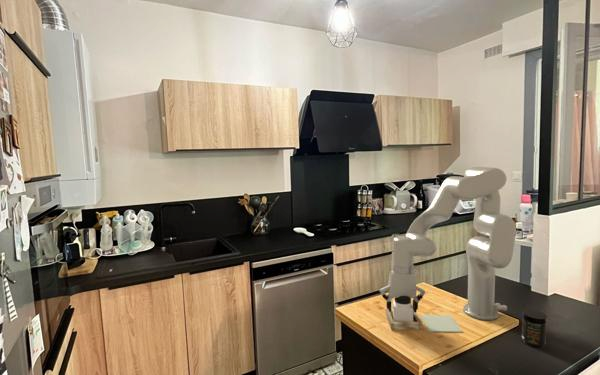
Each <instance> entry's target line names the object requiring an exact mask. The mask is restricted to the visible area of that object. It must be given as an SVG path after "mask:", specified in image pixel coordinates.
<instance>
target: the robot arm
mask: <svg viewBox="0 0 600 375" xmlns="http://www.w3.org/2000/svg"><path fill="white" fill-rule="evenodd" d="M506 183H507V175H506V173H505V172H504V171H503V169H501V168H497V167H485V166H473V167H469V168H467V169H466V170H465V172H464V174H463V176H456V175H455V176H454V175H453V176H449V177H446V178H445V179H444V180H443V182H442V183H441V184H440V187H439V189H438V191H437V192H436V194H435V196H434V198H433V199H432V202H431V203H430V205H428V206H429V207H428V208H427V209H426V210H424V211H423V212H422V213H421V214H420V215H418V216H417V217H416V218H415V219H414V220H413V222H412V223H411V224H410V226H409V228H408V230H407V231H406V234H405V236H403V235H398V236H395V237H394V238H393V239H392V269H391V270H390V271H389V276H388V285H386V286H384V287H382V288H379V293H380V295H381V296H382V298H383V299H384V300H385V301H386V309H388V310H389V312H391V309H392V300H393V298H394V299H395V298H398V297H399V296H409V297H410V298H411V299H412V307H413V310H414V312H415V313H416V314H417V311H418V310H419V303H420V301H421V300H422V299H423V297H424V295H425V294H426V290H425V289H423V288H421V287H419V286H417V282H416V275H415V272H414V270H417V269H418V268H417V265H414V262H413V261H414V260H413V259H414V257H420V258H428V257H431V256H434V254H435V253H436V251H437V245H436V243H435V242H434V240H432V238H429V237H427V236H426V234H427V232H428V230H430V229H431V228H432V227H433V226H434V225H437V224H439V223H442V222H446V221H448V220H450V218H451V217H452V215H453V213H454V211H455V210H456V208H457V206H458V205H459V202H460V201H461V200H462V201H473V200H475V206H474V215H473V216H474V217H473V230H475V231H476V232H477V233H479V234H482V235H485V236H487V237H490V238H487V237H484V236H474V237H473V236H472V237H471V238H469V239H468V240H467V243H466V245H465V252H466V259H467V264H468V265H467V266H468V268H467V269H468V270H467V303H466V304H465V305H463V307H462V308H463V309H462V310H463V313H465V314H466V315H468V316H469V317H471V318H474V319H478V320H480V321H481V320H482V321H483V320H484V321H494V320H497V319H498V318H499V311H507V310H508V306H507V305H505V304H501V303H499V302H496V303H495V293H496V292H495V289H496V288H495V287H496V286H495V285H496V283H495V282H496V270H495V269H500V270H501V269H505V268H506V267H508V266H509V265H510V263H511V262H512V259H513V257H514V256H513V255H514V250H515V242H516V235H517V226H516V223H515V221H514V219H513V218H512V217H510V216H509V215H506V214H503V213H501V212H500V211H501V195H500V191H499V190H501V189H502V188H503V187H504V186H505V184H506ZM417 291H418V292H419V293H418V295H417ZM385 292H388V294H386V293H385Z"/></svg>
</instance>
